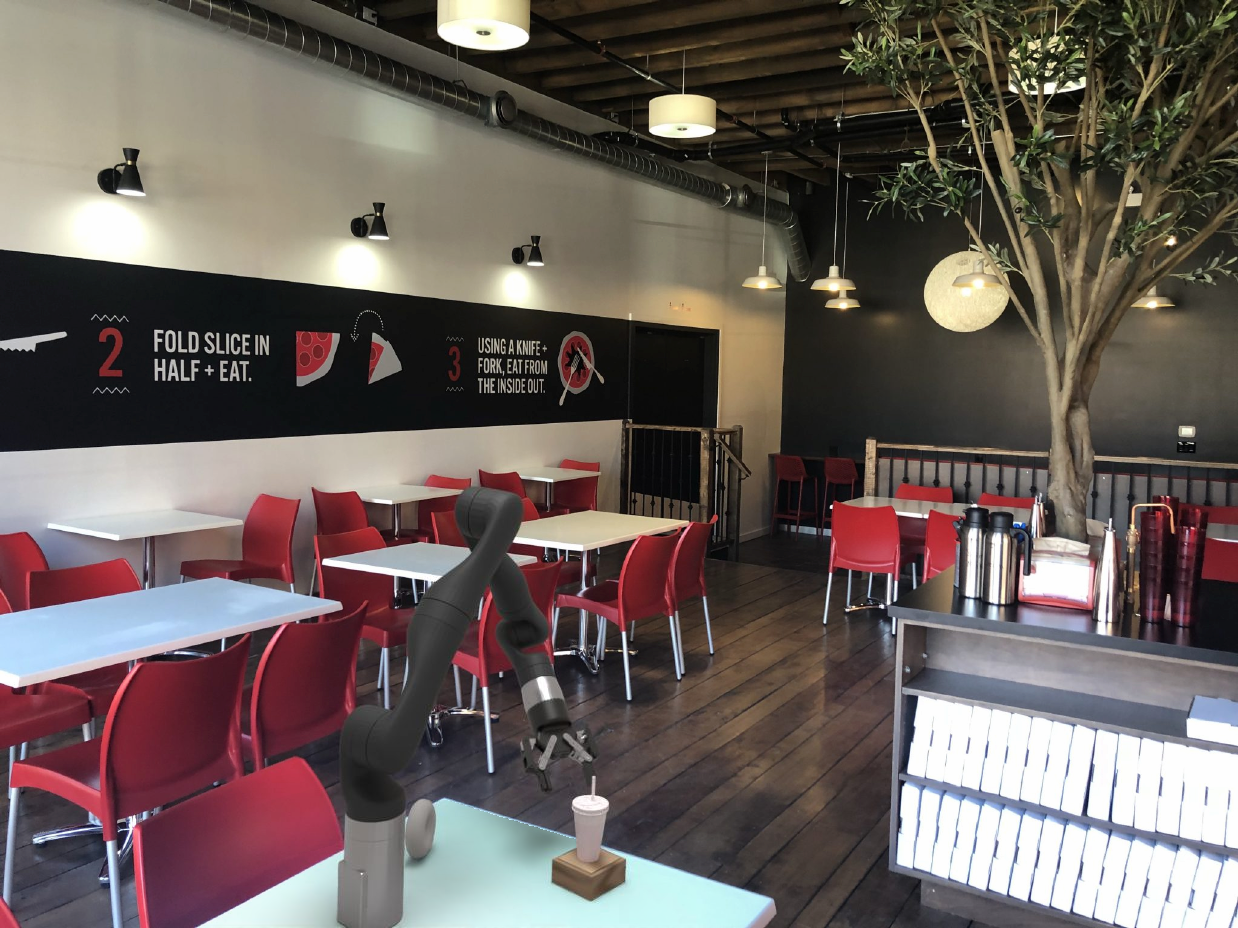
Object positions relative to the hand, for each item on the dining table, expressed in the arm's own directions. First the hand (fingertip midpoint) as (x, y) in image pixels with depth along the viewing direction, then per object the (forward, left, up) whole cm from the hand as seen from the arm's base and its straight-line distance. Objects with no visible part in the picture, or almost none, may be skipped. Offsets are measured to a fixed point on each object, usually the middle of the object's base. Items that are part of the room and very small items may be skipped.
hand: (570, 788), depth 169 cm
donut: (-17, +21, -14) cm, 30 cm away
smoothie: (-3, -7, -9) cm, 12 cm away
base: (-3, -7, -13) cm, 16 cm away
